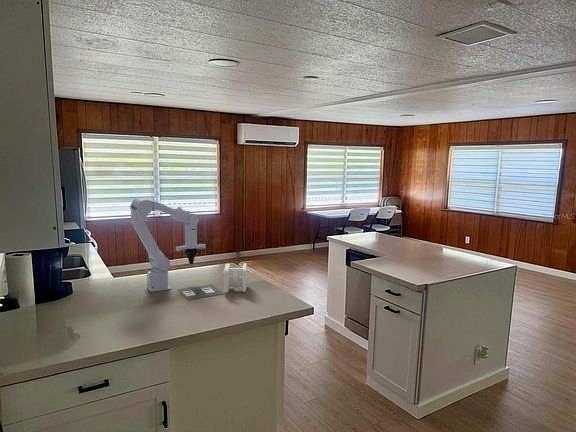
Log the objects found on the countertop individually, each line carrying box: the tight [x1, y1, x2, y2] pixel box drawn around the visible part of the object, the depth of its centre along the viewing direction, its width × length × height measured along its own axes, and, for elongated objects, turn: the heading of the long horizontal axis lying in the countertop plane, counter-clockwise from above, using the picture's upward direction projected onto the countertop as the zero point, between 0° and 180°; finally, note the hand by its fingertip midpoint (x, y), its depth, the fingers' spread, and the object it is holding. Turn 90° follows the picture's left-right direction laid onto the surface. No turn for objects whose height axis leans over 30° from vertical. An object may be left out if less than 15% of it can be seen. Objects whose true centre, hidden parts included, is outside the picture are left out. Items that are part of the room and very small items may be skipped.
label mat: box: [177, 283, 225, 301], centre depth 184 cm, size 17×16×1 cm
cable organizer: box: [222, 262, 248, 294], centre depth 187 cm, size 15×11×12 cm
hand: (191, 263), depth 197 cm, fingers closed
